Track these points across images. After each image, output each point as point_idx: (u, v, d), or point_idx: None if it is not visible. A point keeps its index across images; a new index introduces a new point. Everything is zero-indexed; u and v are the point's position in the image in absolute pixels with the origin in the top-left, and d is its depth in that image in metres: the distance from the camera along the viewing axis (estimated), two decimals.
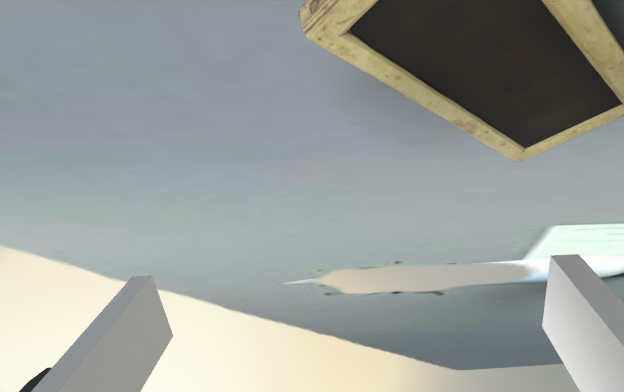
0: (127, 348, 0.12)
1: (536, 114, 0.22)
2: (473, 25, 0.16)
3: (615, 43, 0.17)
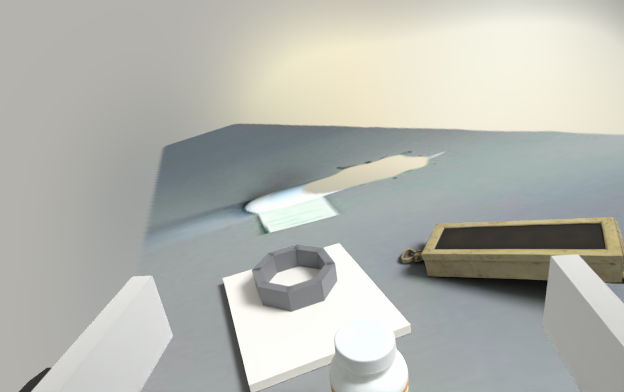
0: (127, 348, 0.12)
1: (468, 235, 0.47)
2: (555, 238, 0.41)
3: (488, 253, 0.42)
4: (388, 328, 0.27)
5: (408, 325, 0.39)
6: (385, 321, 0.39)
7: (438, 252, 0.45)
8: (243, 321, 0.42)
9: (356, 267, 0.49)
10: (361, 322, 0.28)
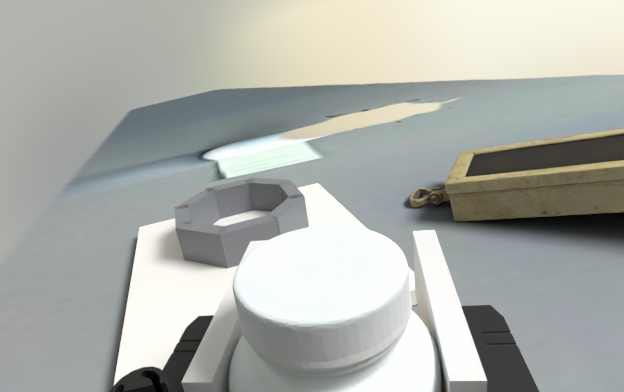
0: None
1: (516, 157, 0.30)
2: None
3: (562, 171, 0.25)
4: (388, 243, 0.10)
5: None
6: None
7: (474, 179, 0.28)
8: (146, 282, 0.25)
9: (340, 209, 0.32)
10: (317, 233, 0.10)
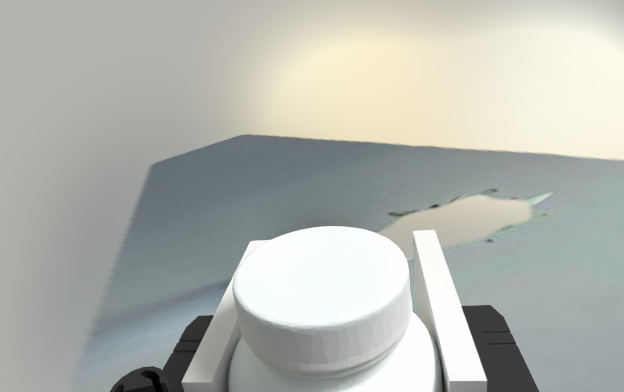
0: None
1: None
2: None
3: None
4: (389, 244, 0.10)
5: None
6: None
7: None
8: None
9: None
10: (317, 234, 0.10)
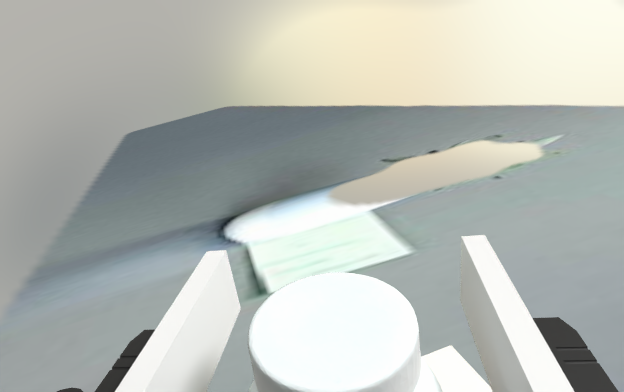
0: (212, 314, 0.13)
1: None
2: None
3: None
4: (398, 297, 0.10)
5: None
6: None
7: None
8: None
9: None
10: (328, 282, 0.11)
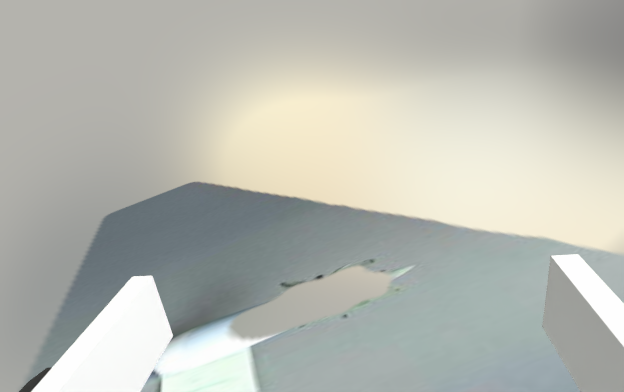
0: (127, 348, 0.12)
1: None
2: None
3: None
4: None
5: None
6: None
7: None
8: None
9: None
10: None
